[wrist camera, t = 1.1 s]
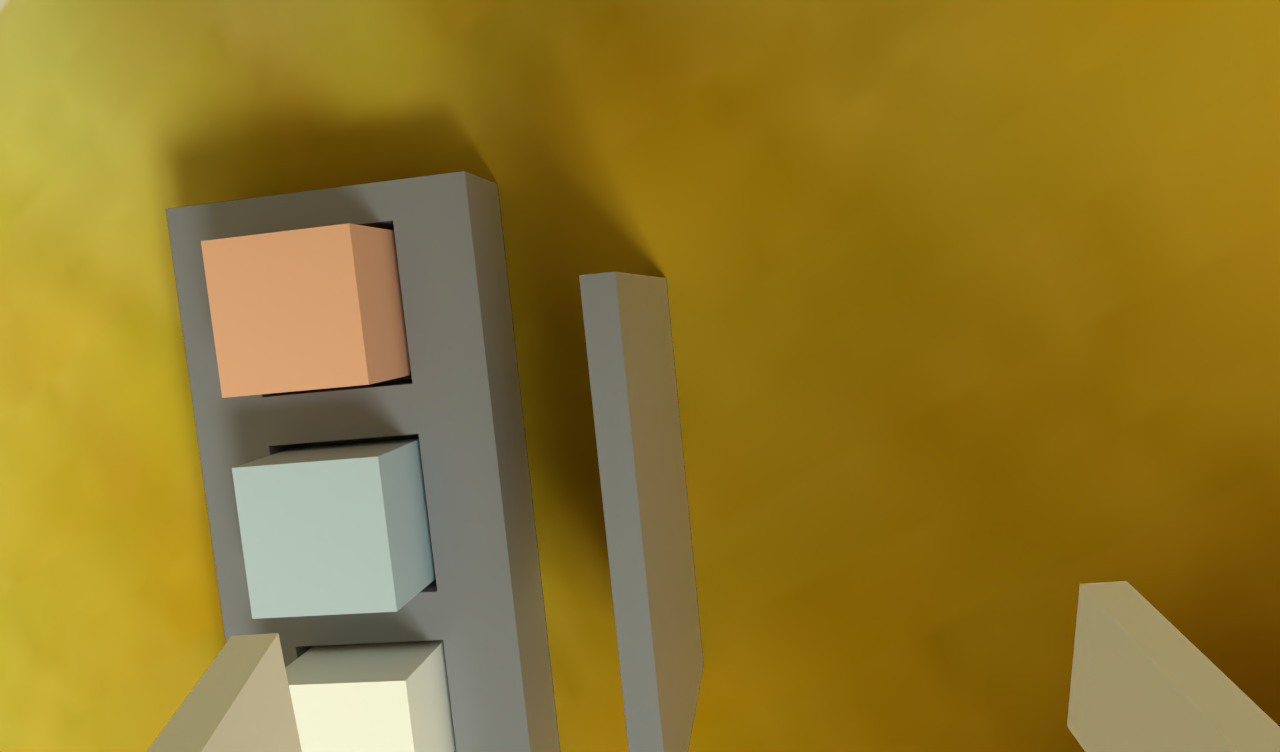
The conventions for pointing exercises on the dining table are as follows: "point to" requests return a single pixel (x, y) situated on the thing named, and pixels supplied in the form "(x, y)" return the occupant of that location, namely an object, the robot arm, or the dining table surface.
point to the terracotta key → (306, 309)
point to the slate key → (334, 529)
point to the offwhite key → (373, 698)
